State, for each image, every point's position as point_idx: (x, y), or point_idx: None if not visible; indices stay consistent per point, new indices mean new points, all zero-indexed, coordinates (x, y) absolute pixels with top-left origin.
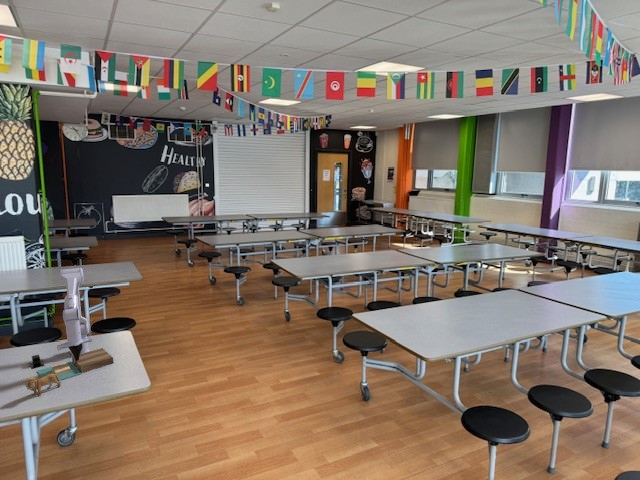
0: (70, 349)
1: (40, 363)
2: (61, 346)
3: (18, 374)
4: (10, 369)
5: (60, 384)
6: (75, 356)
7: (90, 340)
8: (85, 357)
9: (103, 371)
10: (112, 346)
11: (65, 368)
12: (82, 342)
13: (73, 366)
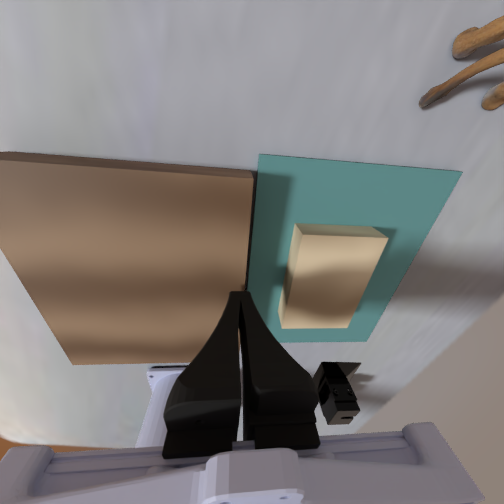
0: (318, 395)
1: (327, 379)
2: (440, 490)
3: (407, 352)
4: (390, 389)
5: (469, 33)
6: (254, 315)
7: (13, 484)
8: (182, 312)
9: (96, 34)
10: (47, 370)
11: (321, 257)
12: (139, 488)
13: (254, 287)
